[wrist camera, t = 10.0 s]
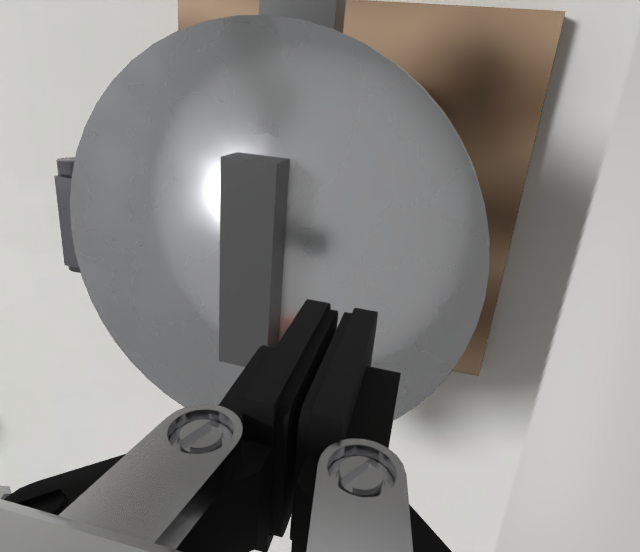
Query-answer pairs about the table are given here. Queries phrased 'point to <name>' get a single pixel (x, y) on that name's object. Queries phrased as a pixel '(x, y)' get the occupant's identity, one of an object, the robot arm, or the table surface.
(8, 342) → the table surface
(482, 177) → the pressure cooker
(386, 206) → the cooker lid
